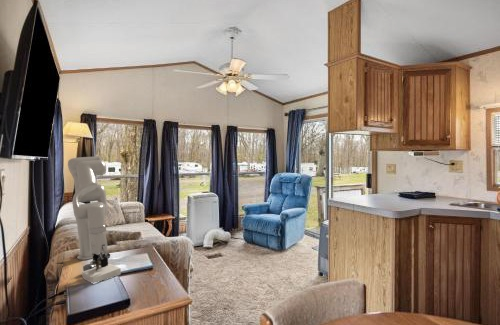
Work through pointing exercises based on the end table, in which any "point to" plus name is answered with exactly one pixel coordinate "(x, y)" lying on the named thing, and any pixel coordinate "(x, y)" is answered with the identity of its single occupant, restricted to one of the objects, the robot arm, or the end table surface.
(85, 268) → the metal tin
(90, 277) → the white slab
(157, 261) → the end table surface
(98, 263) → the eagle figurine
